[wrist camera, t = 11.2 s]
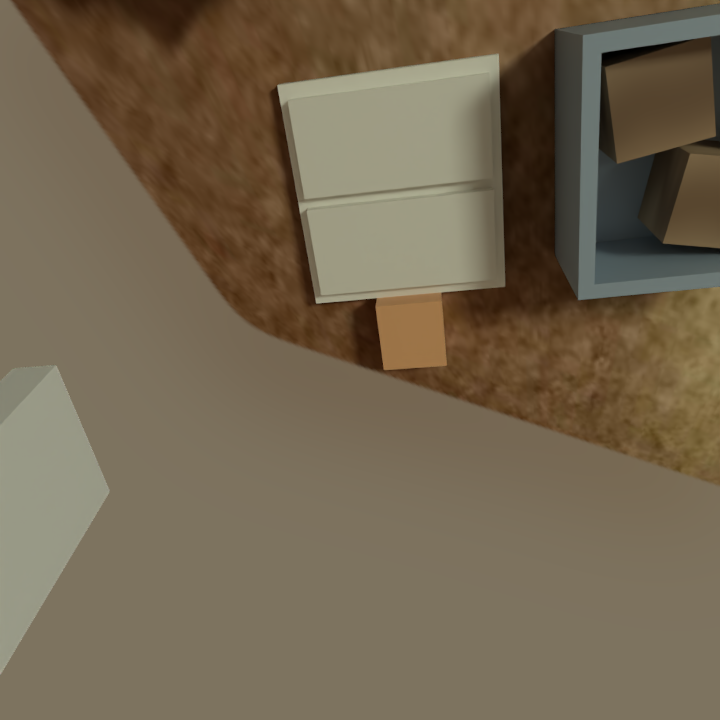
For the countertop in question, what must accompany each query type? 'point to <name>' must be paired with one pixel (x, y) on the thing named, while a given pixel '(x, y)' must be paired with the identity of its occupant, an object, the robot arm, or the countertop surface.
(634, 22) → the tub
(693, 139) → the part
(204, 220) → the countertop surface
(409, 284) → the lid
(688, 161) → the part
